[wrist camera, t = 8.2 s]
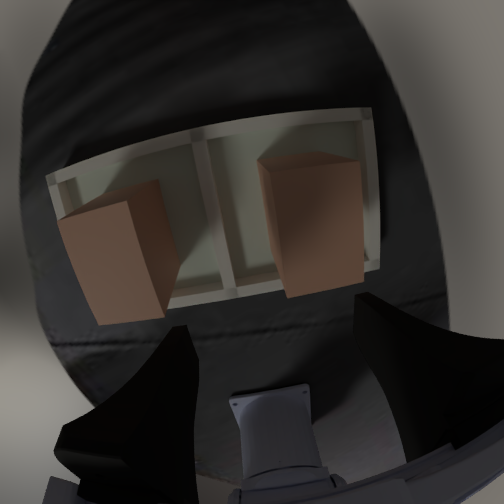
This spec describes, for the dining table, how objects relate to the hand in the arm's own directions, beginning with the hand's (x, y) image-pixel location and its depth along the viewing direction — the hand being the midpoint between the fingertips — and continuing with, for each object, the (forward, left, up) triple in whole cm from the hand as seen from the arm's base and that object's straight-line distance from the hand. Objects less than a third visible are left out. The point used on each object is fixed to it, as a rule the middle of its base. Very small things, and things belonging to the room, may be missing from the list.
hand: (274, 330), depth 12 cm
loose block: (+3, -3, -8) cm, 9 cm away
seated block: (+3, +7, -8) cm, 11 cm away
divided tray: (+3, +2, -9) cm, 10 cm away
